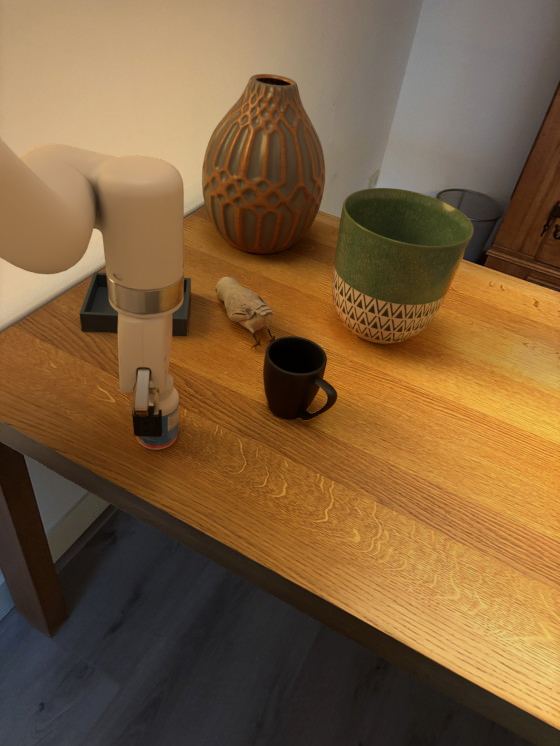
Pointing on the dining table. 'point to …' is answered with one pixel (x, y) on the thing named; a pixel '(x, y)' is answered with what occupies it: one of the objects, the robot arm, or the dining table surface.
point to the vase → (264, 168)
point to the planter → (395, 261)
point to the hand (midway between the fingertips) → (152, 407)
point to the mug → (295, 378)
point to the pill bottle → (164, 417)
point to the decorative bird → (244, 306)
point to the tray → (105, 317)
